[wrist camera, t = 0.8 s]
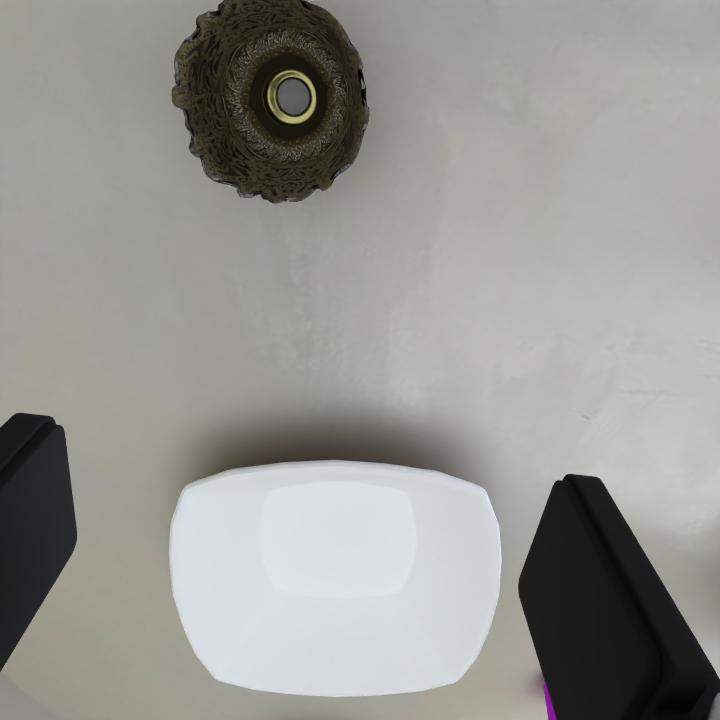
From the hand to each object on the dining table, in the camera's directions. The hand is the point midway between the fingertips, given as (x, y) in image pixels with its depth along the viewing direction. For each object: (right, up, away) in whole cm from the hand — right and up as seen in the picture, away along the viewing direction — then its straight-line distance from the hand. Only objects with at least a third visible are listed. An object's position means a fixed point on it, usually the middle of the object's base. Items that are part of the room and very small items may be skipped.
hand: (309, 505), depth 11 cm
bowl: (-1, -10, +31) cm, 33 cm away
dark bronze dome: (-2, +16, +18) cm, 24 cm away
